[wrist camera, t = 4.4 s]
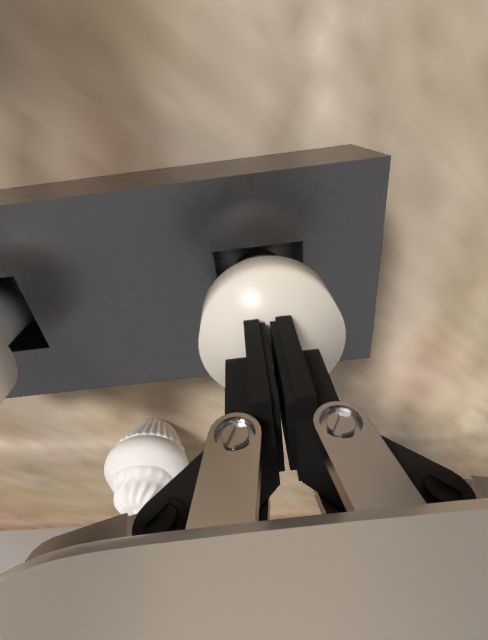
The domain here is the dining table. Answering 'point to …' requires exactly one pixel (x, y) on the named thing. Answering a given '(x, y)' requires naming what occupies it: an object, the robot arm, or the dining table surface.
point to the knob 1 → (10, 334)
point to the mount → (179, 258)
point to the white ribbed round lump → (143, 464)
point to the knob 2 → (268, 309)
